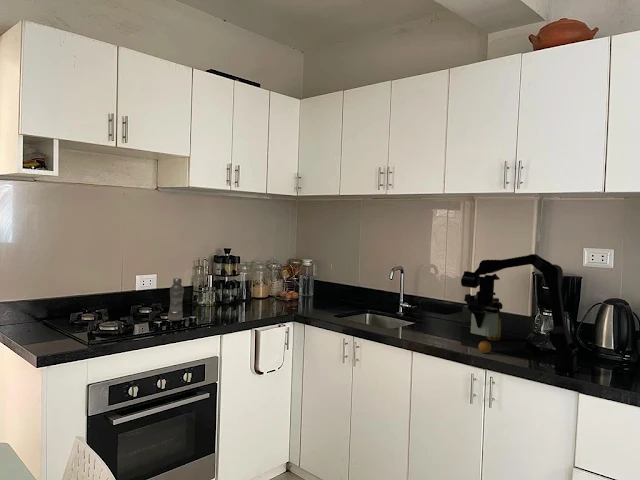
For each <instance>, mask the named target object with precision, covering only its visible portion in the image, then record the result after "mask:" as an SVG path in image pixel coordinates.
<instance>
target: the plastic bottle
mask: <svg viewBox="0 0 640 480" xmlns="http://www.w3.org/2000/svg"><path fill="white" fill-rule="evenodd" d="M182 279H183V278H179V277H178V278H173V279H172V280H173V281H172V285H171V286H170V289H169V298H170V299H169V300H170V302H169V310H168V313H167V318H168V320H169V321H173V322H178V321H181V320H183V313H184V312H183V298H184V293H185V288H184V286H183V285H182Z"/></svg>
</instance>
